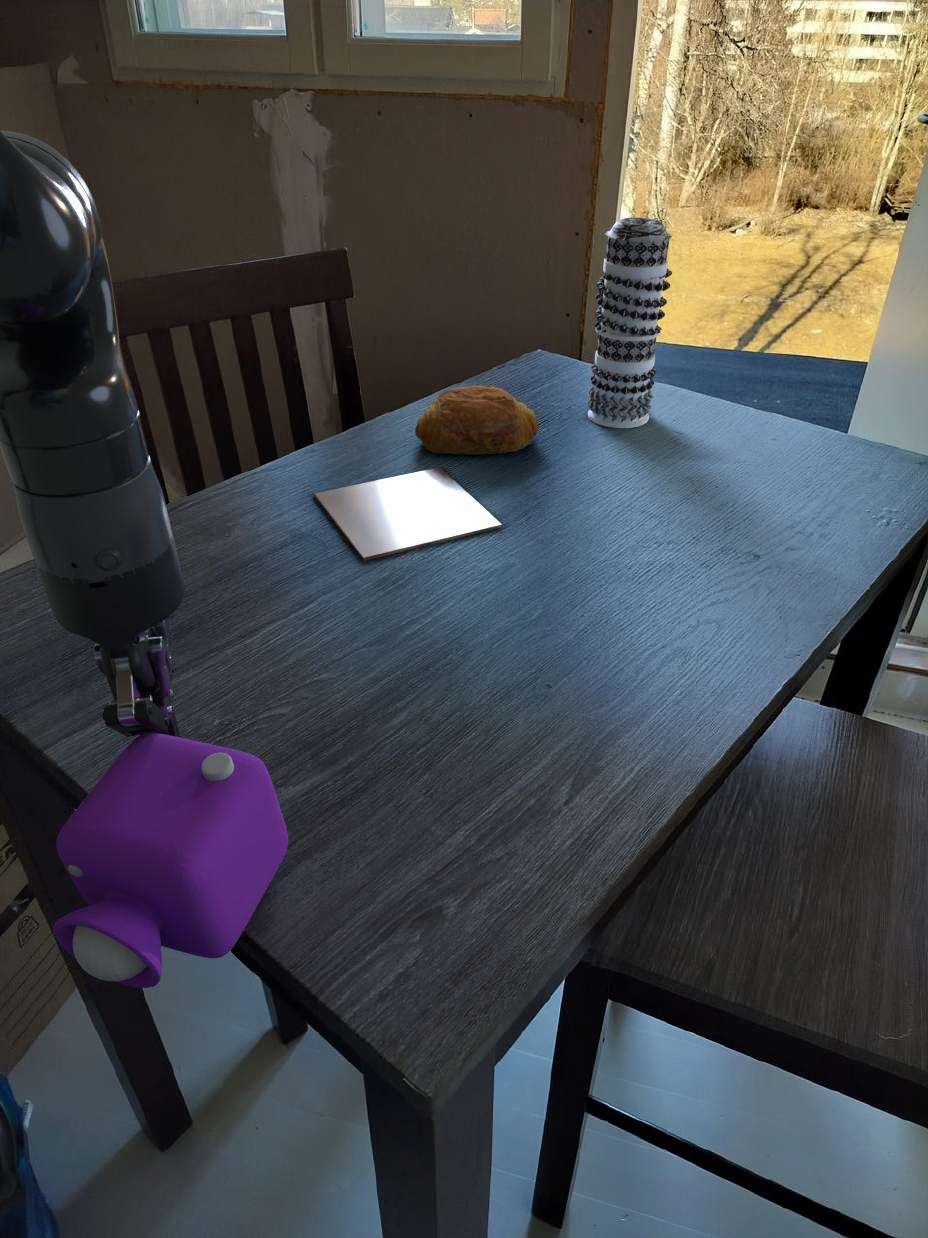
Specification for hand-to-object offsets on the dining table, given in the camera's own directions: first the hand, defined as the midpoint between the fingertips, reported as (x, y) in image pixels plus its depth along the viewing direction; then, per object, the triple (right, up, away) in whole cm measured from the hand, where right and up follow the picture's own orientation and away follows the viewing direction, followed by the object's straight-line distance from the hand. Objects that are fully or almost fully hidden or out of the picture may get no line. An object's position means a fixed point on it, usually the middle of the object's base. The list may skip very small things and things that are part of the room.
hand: (165, 751), depth 59 cm
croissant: (+22, +33, +53) cm, 66 cm away
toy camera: (+4, -9, -6) cm, 11 cm away
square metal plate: (+14, +21, +36) cm, 44 cm away
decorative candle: (+42, +37, +59) cm, 82 cm away
